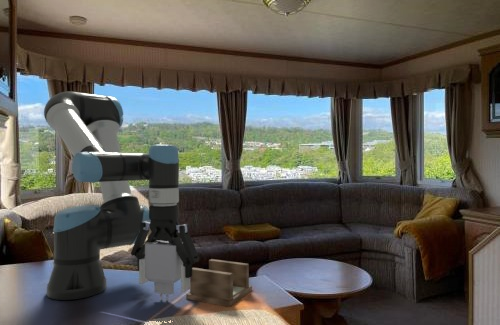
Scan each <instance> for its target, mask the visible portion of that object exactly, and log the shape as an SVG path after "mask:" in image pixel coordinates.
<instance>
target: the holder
mask: <svg viewBox="0 0 500 325" xmlns="http://www.w3.org/2000/svg"><path fill="white" fill-rule="evenodd" d="M249 268H250V264H249V263H245V262H244V263H243V262H237V261H229V260H224V259H223V260H221V259H214V258H211V259H209V260H208V269H204V268H199V267H192V277H190V289H189V292H188V293H186V297H185V299H186V300H192V301H196V302H202V303H206V304H213V305H218V306H224V307H228V308H230V307H232V306H233V305H234V304H236V303H238V301H240V300H241V299H242V298H244V297H245V296H247V295H248V294H249V293H250V292H252V291H253V285H250V280H249V279H250V276H249V274H250V273H249V272H250V269H249Z"/></svg>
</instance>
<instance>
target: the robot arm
mask: <svg viewBox="0 0 500 325" xmlns="http://www.w3.org/2000/svg"><path fill="white" fill-rule="evenodd" d="M43 117H44V119H45V122H46V123H47V125H48V126H49V127H50V128H51V129H52V130H54V131H56V132H57V133H58V135H59V136H60V138H61V140H62V141H63V143H64V144H65V146H66V147H67V148H68V150H69V151H70V153H71V154H72V157H73V158H72V162H71V170H72V173H73V174H72V175H73V177H74V180H76V181H77V182H80V183H91V184H93V183H99V185H100V191H101V195H102V200H103V201H102V203H101V204H100V205H98V204H87V205H86V204H85V205H78V206H73V207H69V208H65V209H63V210H60V211H58V212H57V213H56V214H55V216H54V221H53V222H54V223H53V229H52V231H53V268H52V271H51V274H50V277H49V281H48V284H47V285H46V296H47V297H48V298H49V299H52V300H57V301H58V300H59V301H69V300H78V299H83V298H88V297H92V296H96V295H98V294H100V293H102V292H104V291H105V290H106V289H107V277H106V275H105V271H104V269H103V266H102V263H101V258H100V256H101V253H100V252H101V250H105V249H111V248H117V247H118V248H119V247H124V246H132V245H133V246H132V249H131V252H130V253H131V256H133V257H136V259H137V267H136V268H137V271H138V277H139V278H138V283H139V285H143V284H146V283H149V281H148V280H147V279H146V278H145V243H147V242H149V243H151V242H154V241H157V240H160V241H168V242H169V243H170V244H172V245H175V246H176V252H177V254H178V255H179V257H180V258H181V260H182V262H183V265H181V279H180V285H181V286H180V292H182V293H184V292H187V291H189V290H190V277H192V268H193V264H195V263H198V262H200V257H199V254H198V251H197V249H196V246H195V244H194V241H193V239H192V237H191V234H190V226H189V224H188V223H185V224H179V222H178V220H179V217H180V212H179V211H180V210H179V209H180V208H179V204H178V203H179V202H180V194H179V193H180V191H179V190H180V189H179V182H180V181H179V180H180V179H179V178H180V176H179V175H180V174H179V173H180V172H179V171H180V170H179V169H180V158H179V148H178V147H177V145H174V144H152V145H150V146H149V147H148V148H149V149H148V152H146V153H145V152H122V150H121V145H120V142H119V138H118V135H117V134H118V133H119V131H120V128H121V127H122V125H123V123H124V109H123V107H122V105H121V102H120V101H119V100H118V99H117V98H116V97H113V96H108V95H105V94H100V95H99V94H93V93H92V94H91V93H87V92H79V91H69V90H68V91H62V92H59V93H57V94H55V95H53V96H52V97H51V98H49V100H47V102H46V104H45V106H44V110H43ZM131 181H148V189H149V190H148V203H149V204H150V205H149V206H148V207H147V206H146V205H143V204H140V202H139V198H138V197H137V196H135V195H133V194H132V190H131V187H130V182H131ZM150 231H151V232H150ZM149 233H150V234H149ZM182 242H183V243H182Z"/></svg>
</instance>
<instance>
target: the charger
mask: <svg viewBox="0 0 500 325" xmlns="http://www.w3.org/2000/svg"><path fill="white" fill-rule="evenodd" d="M181 242H182V241H181ZM182 243H183V242H182ZM144 244H145V278H146V279H147V280H148V282H153V283H154V287H153V288H154V293H156V294H159V295H160V297H159V298H160V301H163V295H166V297H165V301H166V302H168V301H169V295H173V294H175V284H176V283H177V282H178V281H181V265H183V264H184V263H183V262H182V260H181V258H180V257H179V255H178V254H177V252H176V246H175V245H172V244H170V243H169V242H168V241H163V240H157V241H154V242H151V243H149V242H147V243H144Z"/></svg>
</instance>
